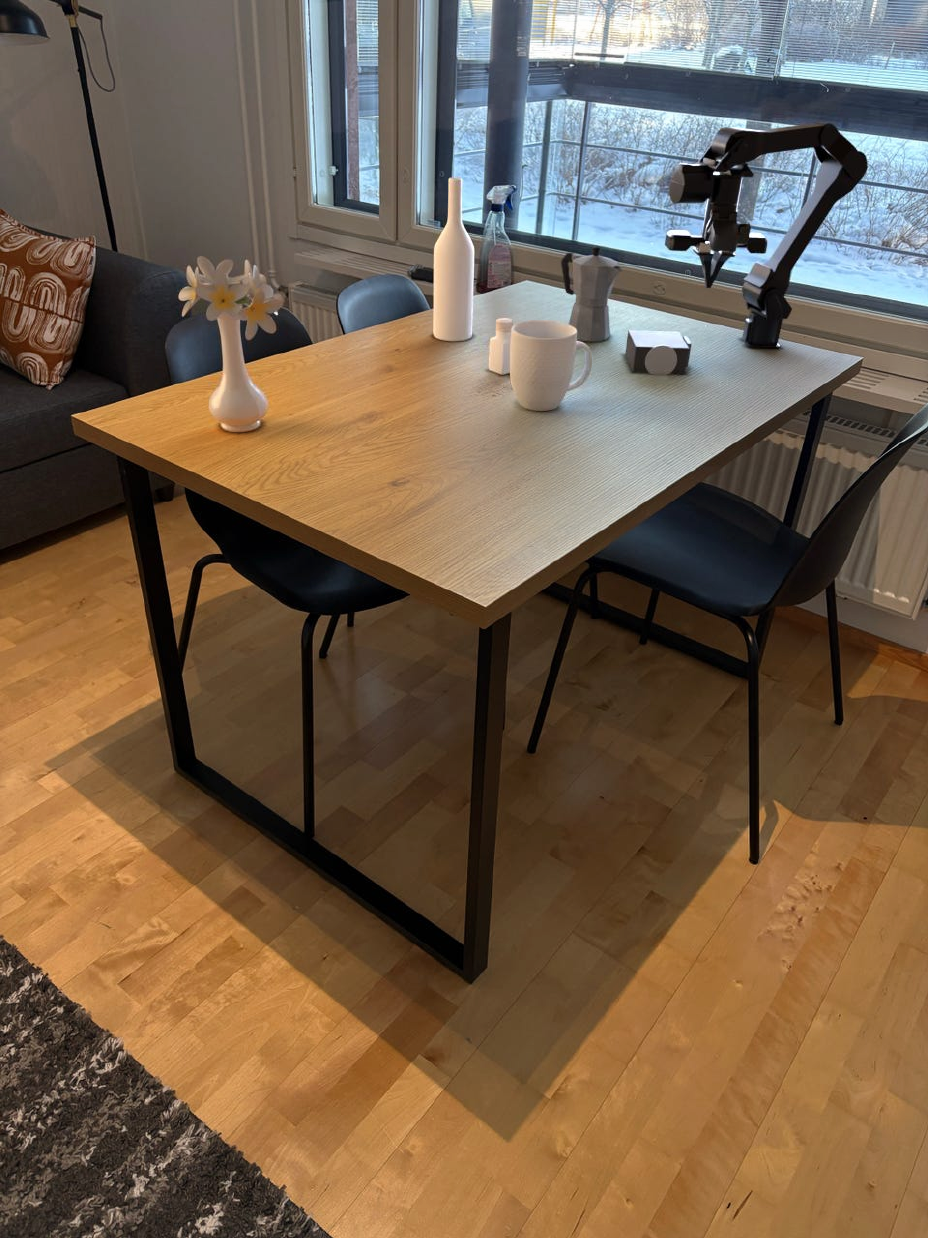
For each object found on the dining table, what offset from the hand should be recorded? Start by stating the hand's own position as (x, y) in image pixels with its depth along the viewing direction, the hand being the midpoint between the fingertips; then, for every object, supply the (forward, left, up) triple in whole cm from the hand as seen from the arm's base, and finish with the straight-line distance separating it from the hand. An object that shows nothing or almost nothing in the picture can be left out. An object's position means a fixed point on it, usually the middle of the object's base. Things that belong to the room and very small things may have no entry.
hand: (708, 287), depth 181 cm
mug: (+34, +36, -12) cm, 51 cm away
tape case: (+11, +12, -12) cm, 20 cm away
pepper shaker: (+41, +19, -12) cm, 47 cm away
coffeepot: (+23, -7, -12) cm, 27 cm away
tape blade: (+10, +12, -12) cm, 19 cm away
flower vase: (+83, +50, -12) cm, 98 cm away
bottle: (+51, -3, -12) cm, 53 cm away
